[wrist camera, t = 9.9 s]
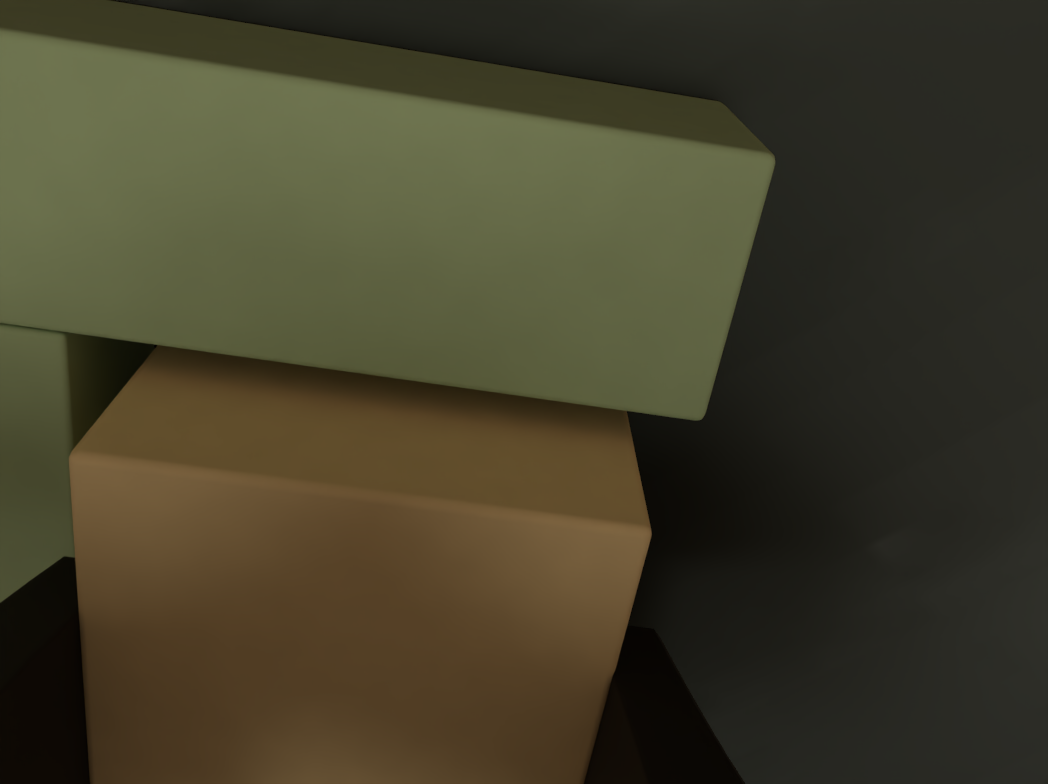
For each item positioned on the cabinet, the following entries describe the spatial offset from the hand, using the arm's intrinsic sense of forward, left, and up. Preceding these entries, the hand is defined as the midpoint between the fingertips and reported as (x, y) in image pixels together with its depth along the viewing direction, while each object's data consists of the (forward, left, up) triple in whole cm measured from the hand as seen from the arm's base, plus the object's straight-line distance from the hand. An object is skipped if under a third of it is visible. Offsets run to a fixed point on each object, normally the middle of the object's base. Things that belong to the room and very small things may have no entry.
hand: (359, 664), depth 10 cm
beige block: (0, 0, -1) cm, 1 cm away
